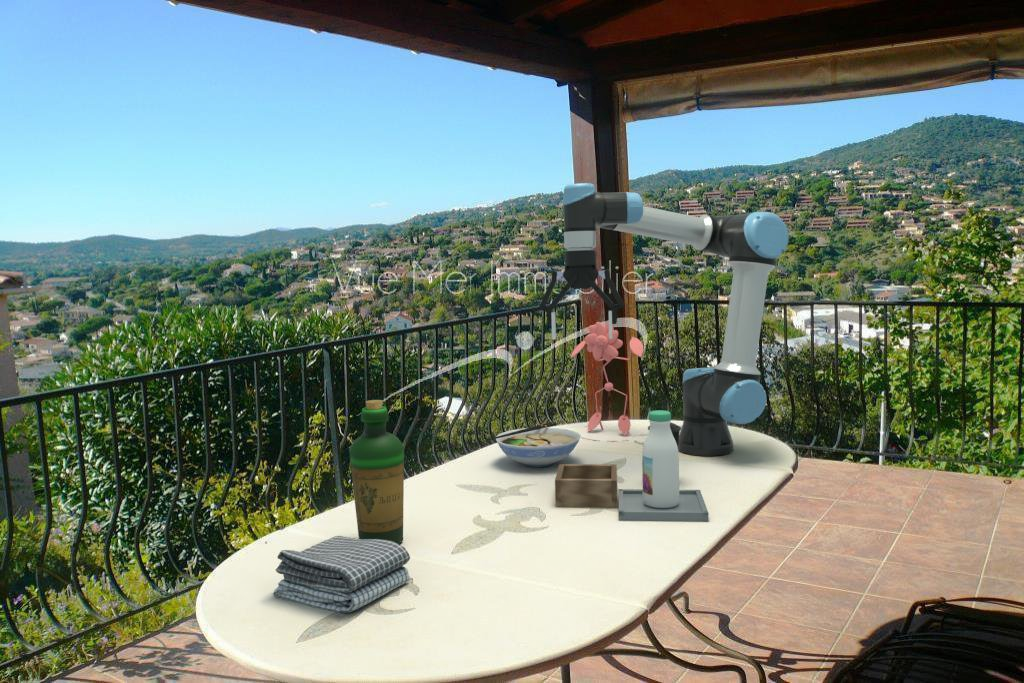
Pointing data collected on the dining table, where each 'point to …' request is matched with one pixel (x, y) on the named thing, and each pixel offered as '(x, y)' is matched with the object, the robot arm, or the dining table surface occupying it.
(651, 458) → the milk bottle
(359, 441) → the bottle
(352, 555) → the towel
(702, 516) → the tray
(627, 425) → the figurine
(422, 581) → the dining table surface
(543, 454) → the ramen bowl
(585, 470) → the holder
